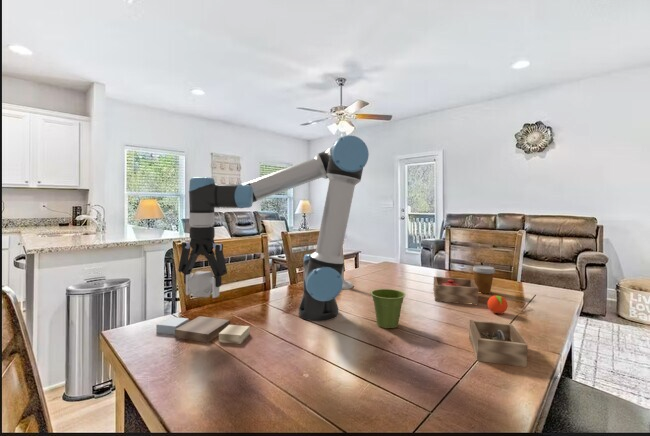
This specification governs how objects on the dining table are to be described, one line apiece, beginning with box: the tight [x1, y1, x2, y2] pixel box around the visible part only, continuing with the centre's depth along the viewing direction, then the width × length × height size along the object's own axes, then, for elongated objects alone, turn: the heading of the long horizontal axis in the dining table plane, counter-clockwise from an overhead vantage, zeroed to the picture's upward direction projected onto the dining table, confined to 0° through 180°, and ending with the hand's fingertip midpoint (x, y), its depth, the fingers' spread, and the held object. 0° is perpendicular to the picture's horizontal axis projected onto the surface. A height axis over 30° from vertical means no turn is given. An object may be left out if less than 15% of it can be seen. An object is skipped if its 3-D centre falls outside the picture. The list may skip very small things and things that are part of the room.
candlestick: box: [341, 243, 354, 291], centre depth 164 cm, size 13×13×30 cm
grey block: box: [155, 316, 190, 335], centre depth 110 cm, size 7×7×3 cm
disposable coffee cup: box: [472, 264, 496, 294], centre depth 156 cm, size 10×10×12 cm
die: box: [187, 270, 214, 298], centre depth 107 cm, size 8×9×10 cm
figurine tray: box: [468, 319, 528, 368], centre depth 96 cm, size 12×15×6 cm
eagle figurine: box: [480, 330, 505, 341], centre depth 95 cm, size 8×8×10 cm
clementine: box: [486, 294, 509, 314], centre depth 128 cm, size 8×7×7 cm
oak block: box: [218, 324, 251, 345], centre depth 104 cm, size 7×7×3 cm
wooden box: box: [433, 276, 479, 305], centre depth 148 cm, size 17×16×7 cm
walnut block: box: [174, 315, 231, 343], centre depth 108 cm, size 12×12×3 cm
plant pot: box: [370, 288, 406, 329], centre depth 115 cm, size 12×12×11 cm
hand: (202, 295), depth 107 cm, fingers closed on die, 9 cm apart
